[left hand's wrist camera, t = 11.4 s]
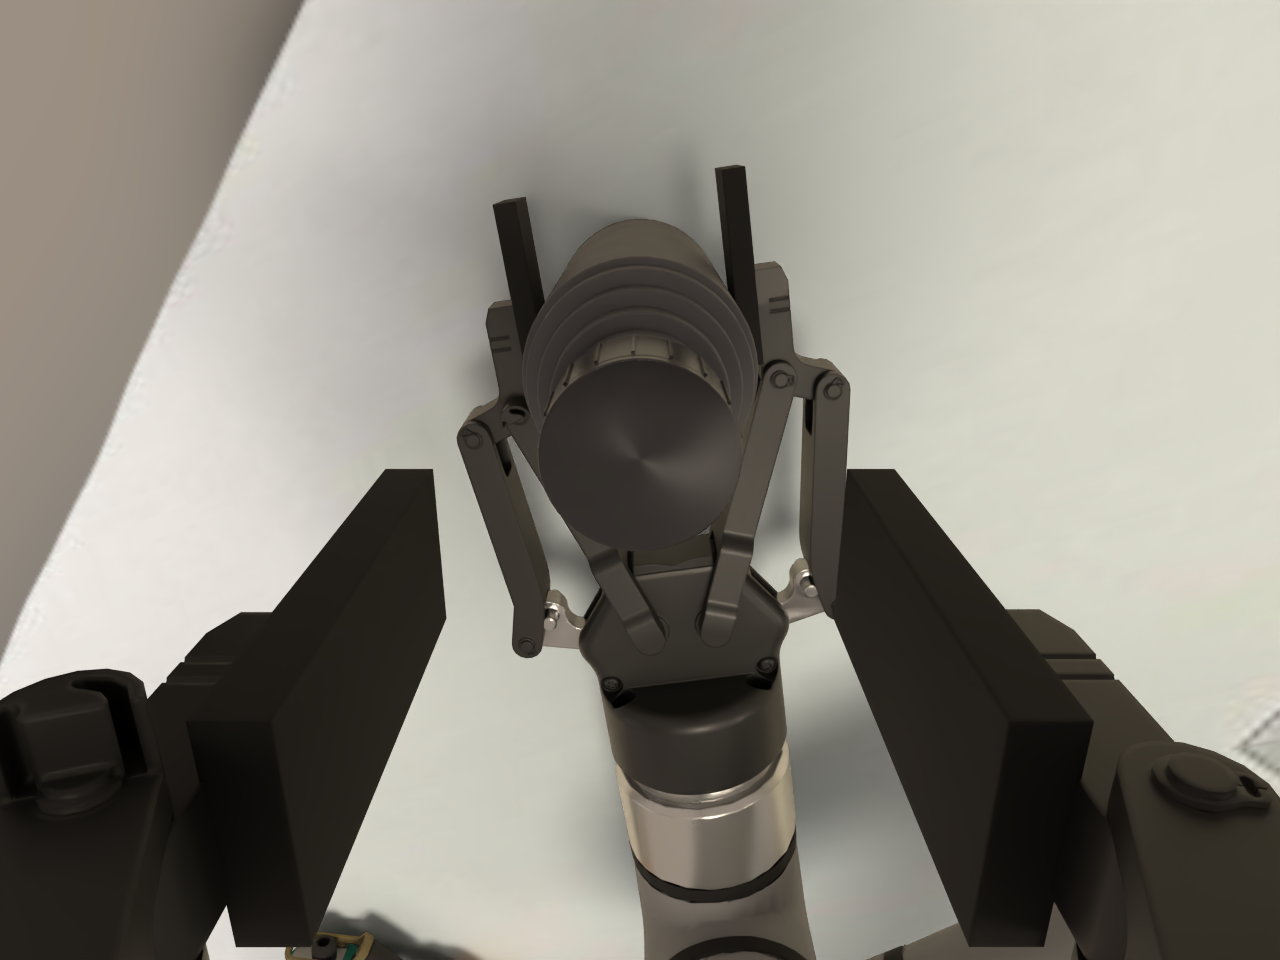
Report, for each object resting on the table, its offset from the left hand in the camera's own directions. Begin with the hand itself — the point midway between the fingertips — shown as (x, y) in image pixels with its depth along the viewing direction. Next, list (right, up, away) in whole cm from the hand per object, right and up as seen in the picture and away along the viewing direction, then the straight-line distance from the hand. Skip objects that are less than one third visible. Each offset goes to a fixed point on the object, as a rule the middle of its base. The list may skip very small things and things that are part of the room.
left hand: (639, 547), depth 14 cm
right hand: (-1, +11, +15) cm, 19 cm away
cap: (0, +2, +4) cm, 5 cm away
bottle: (0, +9, +23) cm, 25 cm away
